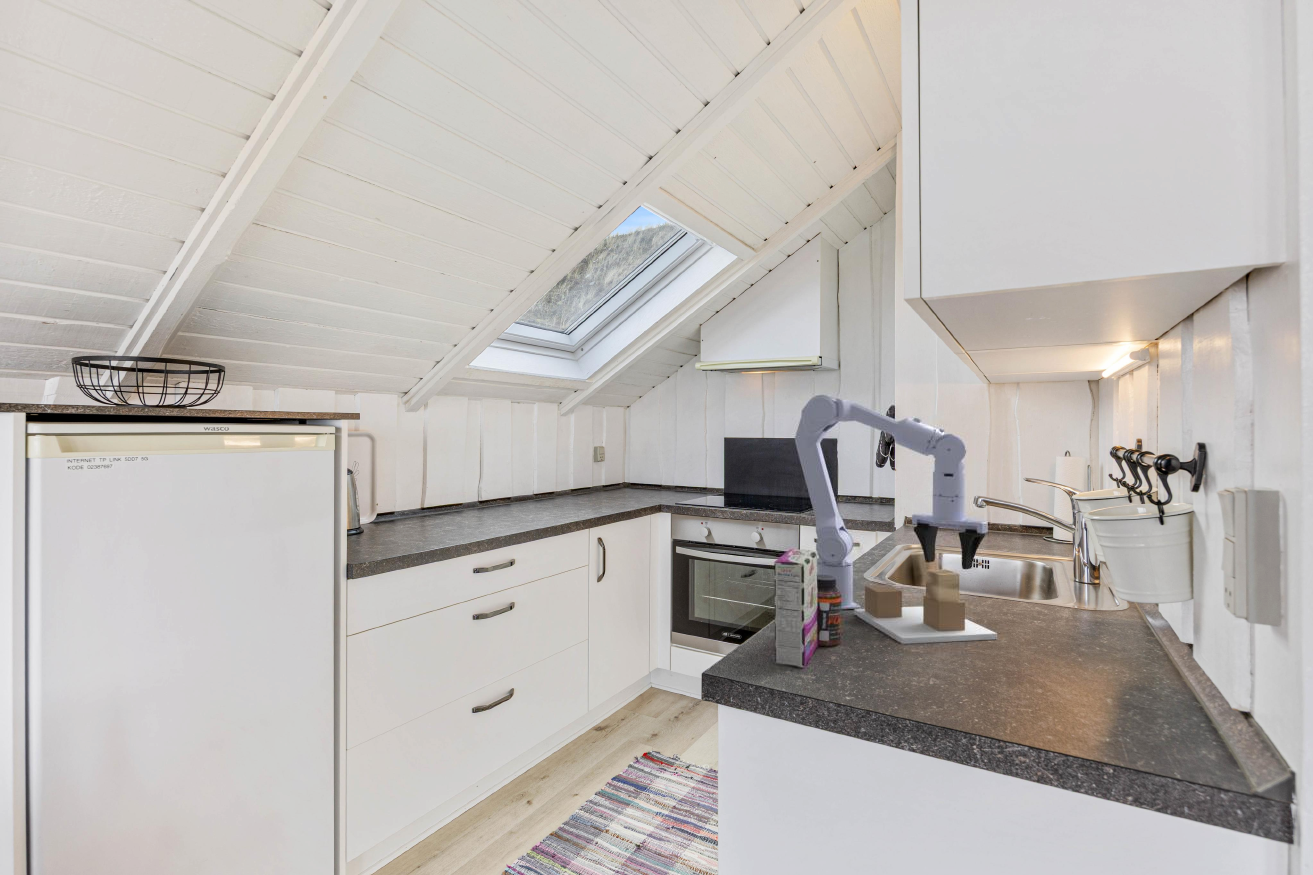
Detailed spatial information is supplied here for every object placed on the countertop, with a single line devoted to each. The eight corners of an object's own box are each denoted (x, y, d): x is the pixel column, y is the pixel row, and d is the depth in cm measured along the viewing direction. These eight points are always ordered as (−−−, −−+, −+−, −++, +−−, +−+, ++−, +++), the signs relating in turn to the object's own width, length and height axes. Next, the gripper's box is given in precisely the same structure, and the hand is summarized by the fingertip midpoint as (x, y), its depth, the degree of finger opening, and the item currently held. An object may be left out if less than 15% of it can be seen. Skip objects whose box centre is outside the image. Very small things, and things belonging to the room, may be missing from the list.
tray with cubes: (854, 614, 127) (854, 584, 127) (937, 610, 130) (937, 581, 130) (902, 643, 110) (902, 608, 109) (997, 639, 112) (997, 605, 112)
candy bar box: (789, 642, 110) (789, 548, 110) (818, 647, 108) (819, 550, 108) (772, 664, 100) (773, 559, 100) (804, 669, 98) (805, 562, 97)
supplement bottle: (833, 649, 106) (833, 582, 106) (799, 642, 110) (800, 577, 110) (846, 640, 111) (846, 576, 111) (814, 634, 115) (814, 571, 115)
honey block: (925, 596, 118) (925, 569, 118) (945, 595, 118) (945, 569, 118) (938, 602, 114) (939, 574, 114) (959, 601, 114) (959, 573, 114)
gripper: (903, 493, 128) (902, 561, 129) (973, 500, 116) (973, 574, 117) (923, 492, 132) (923, 557, 133) (993, 498, 121) (993, 569, 121)
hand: (947, 565), depth 125 cm, fingers open, 7 cm apart
